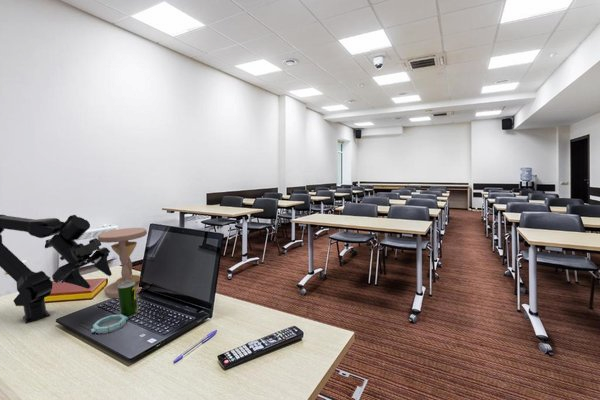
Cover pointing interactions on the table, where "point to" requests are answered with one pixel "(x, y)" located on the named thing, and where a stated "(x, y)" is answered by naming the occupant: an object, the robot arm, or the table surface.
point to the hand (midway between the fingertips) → (100, 281)
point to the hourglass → (123, 255)
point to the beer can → (127, 298)
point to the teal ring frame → (109, 324)
